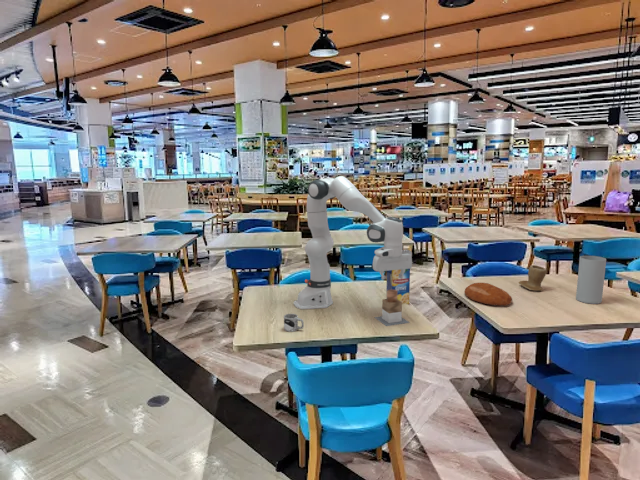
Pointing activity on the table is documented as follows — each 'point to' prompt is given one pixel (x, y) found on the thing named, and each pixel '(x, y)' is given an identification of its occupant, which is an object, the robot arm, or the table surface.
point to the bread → (488, 294)
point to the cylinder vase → (590, 279)
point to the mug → (292, 322)
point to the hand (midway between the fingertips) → (392, 278)
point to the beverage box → (399, 284)
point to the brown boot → (534, 278)
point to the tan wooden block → (391, 306)
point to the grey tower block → (391, 316)
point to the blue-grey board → (391, 323)
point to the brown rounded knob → (392, 295)
